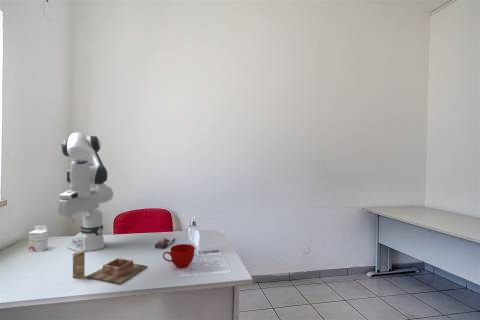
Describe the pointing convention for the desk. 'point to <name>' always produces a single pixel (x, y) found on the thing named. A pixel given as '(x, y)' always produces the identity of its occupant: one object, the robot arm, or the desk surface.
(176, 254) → the ceramic cup
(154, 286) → the desk surface
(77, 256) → the wooden peg
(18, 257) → the desk surface
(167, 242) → the walkie-talkie
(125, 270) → the wooden peg socket board
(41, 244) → the ink cartridge box
